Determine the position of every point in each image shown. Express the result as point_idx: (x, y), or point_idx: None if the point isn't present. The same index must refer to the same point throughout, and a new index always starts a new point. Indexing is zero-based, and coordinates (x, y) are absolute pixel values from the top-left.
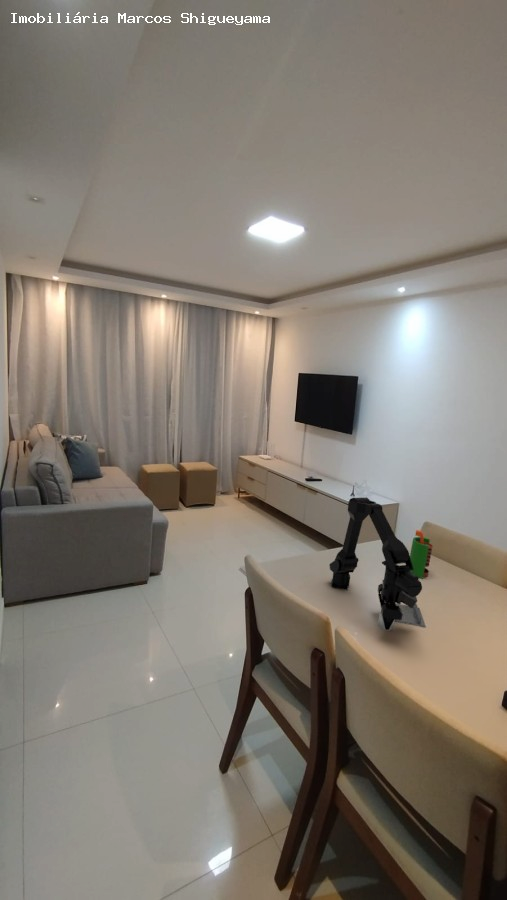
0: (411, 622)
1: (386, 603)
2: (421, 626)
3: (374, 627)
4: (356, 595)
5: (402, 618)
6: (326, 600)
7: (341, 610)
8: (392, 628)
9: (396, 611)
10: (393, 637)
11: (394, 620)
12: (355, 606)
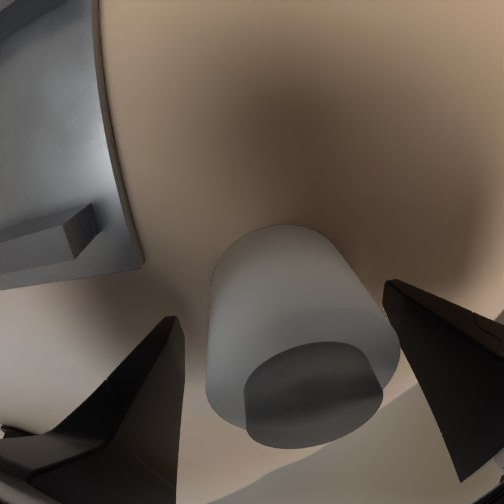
0: (82, 50)
1: (142, 469)
2: None
3: None
4: (39, 417)
5: (55, 150)
6: (184, 483)
7: (226, 462)
8: (316, 235)
9: None
10: (420, 217)
11: (130, 222)
12: None
